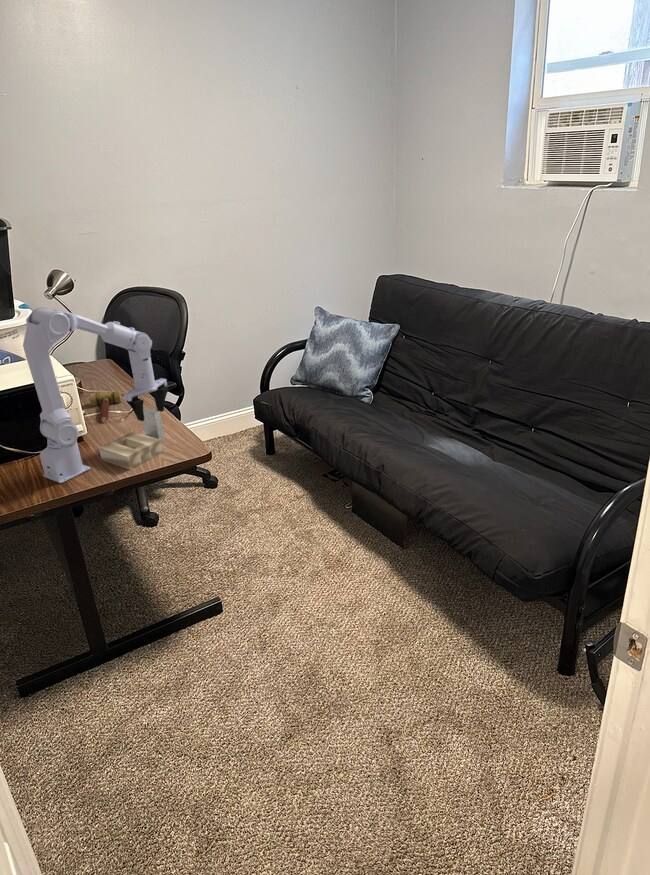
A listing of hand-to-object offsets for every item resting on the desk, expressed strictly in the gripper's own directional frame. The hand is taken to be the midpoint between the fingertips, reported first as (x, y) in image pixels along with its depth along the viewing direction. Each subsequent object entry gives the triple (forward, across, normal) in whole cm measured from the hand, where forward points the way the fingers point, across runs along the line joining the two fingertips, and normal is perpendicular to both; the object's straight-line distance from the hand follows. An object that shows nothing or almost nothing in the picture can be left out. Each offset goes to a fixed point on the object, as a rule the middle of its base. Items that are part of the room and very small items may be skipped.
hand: (151, 415), depth 181 cm
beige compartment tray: (+7, -12, -4) cm, 15 cm away
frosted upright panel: (+7, 0, 0) cm, 7 cm away
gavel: (+8, +7, +32) cm, 34 cm away
